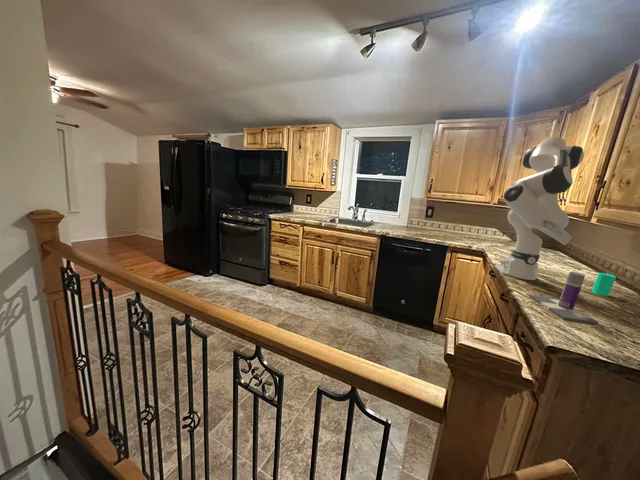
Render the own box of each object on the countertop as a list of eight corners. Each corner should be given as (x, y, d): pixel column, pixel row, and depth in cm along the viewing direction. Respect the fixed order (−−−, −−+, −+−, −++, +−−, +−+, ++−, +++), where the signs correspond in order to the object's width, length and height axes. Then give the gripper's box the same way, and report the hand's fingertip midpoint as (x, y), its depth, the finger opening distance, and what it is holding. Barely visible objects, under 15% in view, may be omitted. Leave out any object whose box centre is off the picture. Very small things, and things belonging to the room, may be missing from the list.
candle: (596, 294, 127) (605, 272, 124) (588, 290, 132) (596, 268, 130) (611, 297, 125) (620, 274, 122) (602, 292, 131) (611, 270, 128)
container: (576, 311, 102) (588, 276, 99) (563, 308, 103) (575, 274, 100) (567, 305, 107) (579, 272, 104) (555, 303, 108) (566, 270, 104)
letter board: (528, 296, 116) (529, 294, 116) (557, 300, 114) (558, 298, 114) (562, 319, 97) (563, 316, 96) (597, 324, 95) (598, 321, 95)
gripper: (564, 221, 90) (585, 244, 93) (528, 203, 108) (547, 222, 111) (547, 233, 93) (568, 255, 96) (514, 213, 111) (533, 232, 114)
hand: (556, 237), depth 104 cm, fingers open, 8 cm apart
